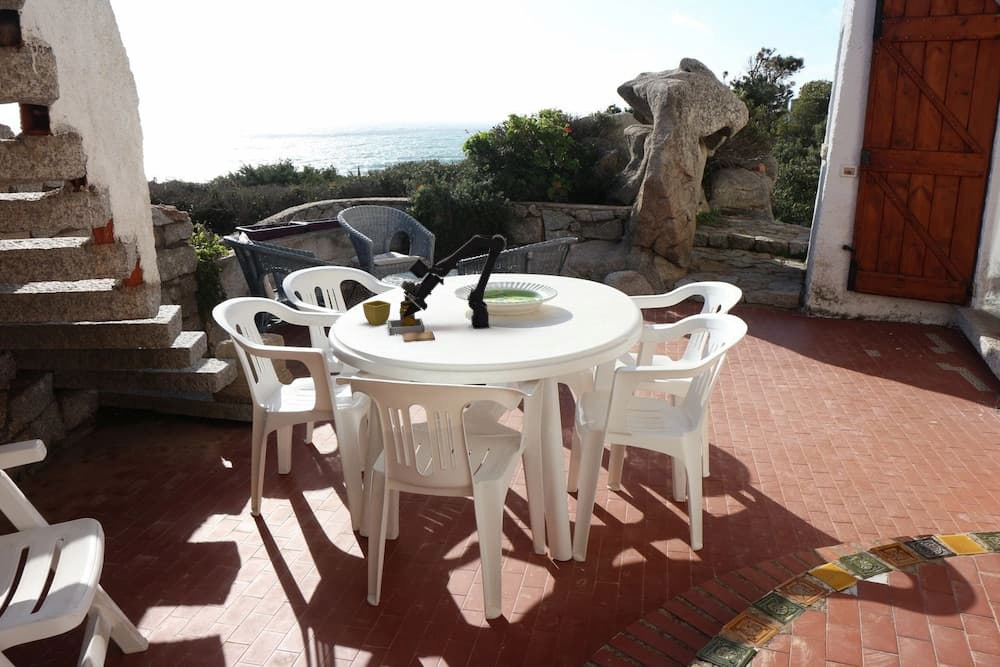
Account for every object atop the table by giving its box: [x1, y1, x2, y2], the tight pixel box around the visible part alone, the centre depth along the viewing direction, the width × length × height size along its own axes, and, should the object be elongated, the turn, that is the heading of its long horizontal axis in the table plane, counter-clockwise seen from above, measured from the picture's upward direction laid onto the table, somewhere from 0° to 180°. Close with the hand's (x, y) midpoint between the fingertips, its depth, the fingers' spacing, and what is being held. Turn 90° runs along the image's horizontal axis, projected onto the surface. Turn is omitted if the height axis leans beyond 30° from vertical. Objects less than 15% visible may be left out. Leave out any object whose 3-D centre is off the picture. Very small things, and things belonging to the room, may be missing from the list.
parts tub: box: [387, 317, 426, 336], centre depth 302 cm, size 14×13×3 cm
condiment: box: [399, 300, 416, 327], centre depth 301 cm, size 7×8×12 cm
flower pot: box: [362, 299, 392, 326], centre depth 313 cm, size 9×9×9 cm
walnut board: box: [402, 330, 436, 343], centre depth 291 cm, size 12×10×1 cm
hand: (401, 315), depth 300 cm, fingers closed on condiment, 6 cm apart
